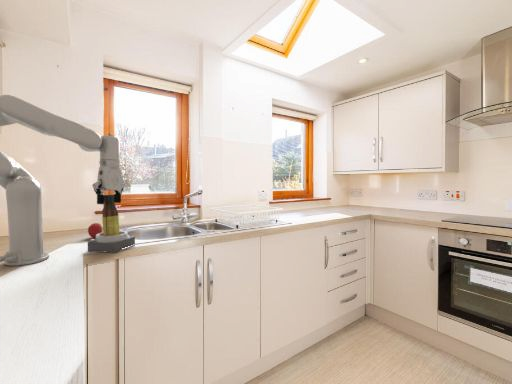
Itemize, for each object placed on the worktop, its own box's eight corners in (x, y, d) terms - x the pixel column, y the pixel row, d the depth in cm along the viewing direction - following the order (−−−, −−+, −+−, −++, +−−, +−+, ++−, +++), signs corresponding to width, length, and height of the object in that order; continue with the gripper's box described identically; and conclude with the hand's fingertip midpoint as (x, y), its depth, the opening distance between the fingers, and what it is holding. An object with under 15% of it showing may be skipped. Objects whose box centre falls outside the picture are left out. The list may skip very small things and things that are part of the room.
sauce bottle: (122, 237, 118) (121, 194, 117) (113, 241, 112) (112, 195, 111) (109, 237, 118) (107, 194, 117) (99, 240, 112) (98, 195, 111)
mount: (114, 252, 108) (114, 237, 107) (87, 251, 110) (87, 236, 110) (134, 245, 121) (134, 231, 120) (110, 243, 123) (110, 230, 123)
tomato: (85, 222, 132) (102, 218, 136) (88, 229, 138) (104, 225, 142) (88, 235, 129) (105, 231, 133) (91, 242, 135) (107, 238, 139)
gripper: (101, 162, 104) (101, 205, 105) (130, 166, 121) (130, 202, 122) (85, 162, 106) (85, 204, 106) (116, 165, 123) (116, 201, 123)
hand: (109, 203), depth 114 cm, fingers open, 9 cm apart
